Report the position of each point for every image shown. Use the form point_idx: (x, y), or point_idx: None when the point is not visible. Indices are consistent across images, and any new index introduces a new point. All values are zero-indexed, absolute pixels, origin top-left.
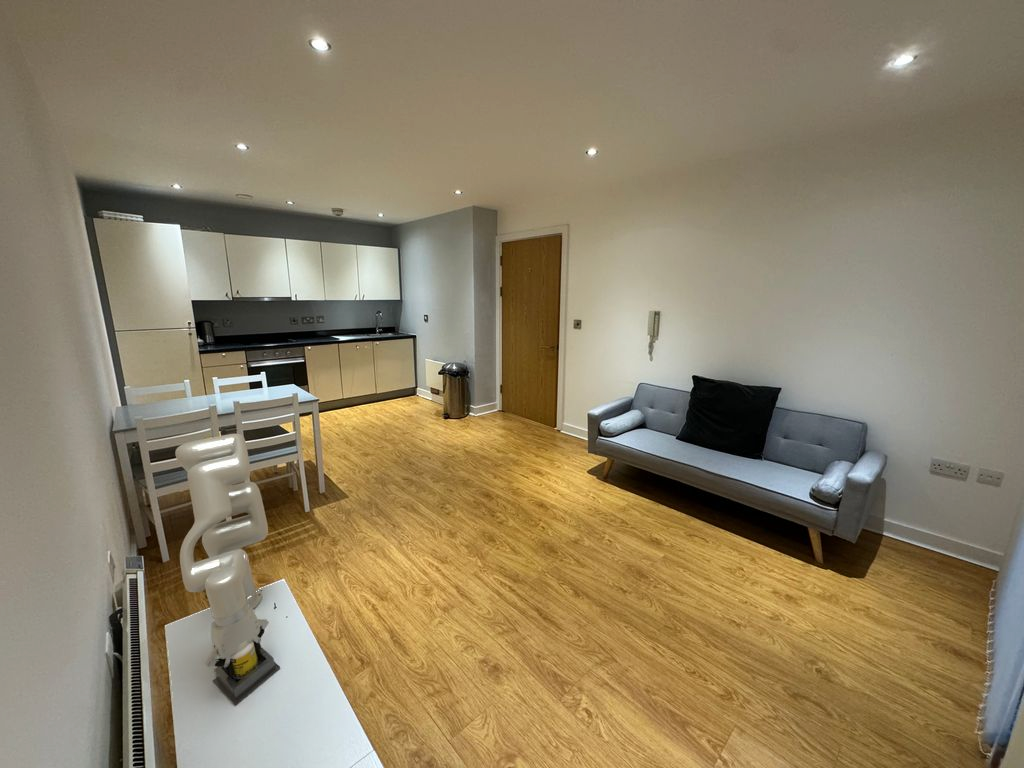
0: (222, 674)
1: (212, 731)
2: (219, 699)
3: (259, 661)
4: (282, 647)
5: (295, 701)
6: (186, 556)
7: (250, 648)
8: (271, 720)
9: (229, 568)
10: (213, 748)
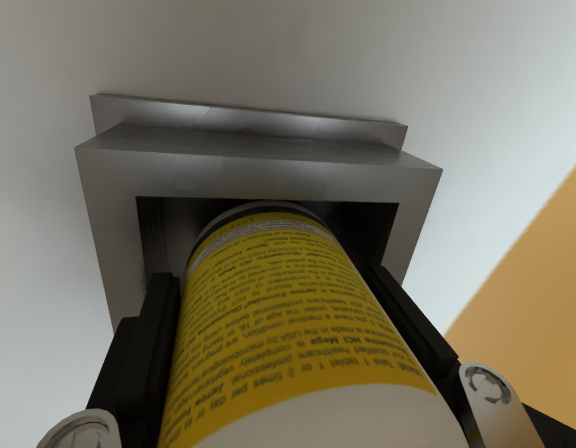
0: (119, 265)
1: (15, 366)
2: (92, 249)
3: (335, 237)
4: (431, 237)
5: None
6: None
7: None
8: None
9: None
10: (3, 420)
